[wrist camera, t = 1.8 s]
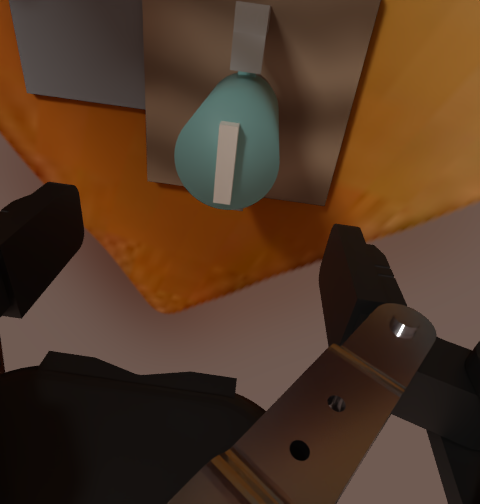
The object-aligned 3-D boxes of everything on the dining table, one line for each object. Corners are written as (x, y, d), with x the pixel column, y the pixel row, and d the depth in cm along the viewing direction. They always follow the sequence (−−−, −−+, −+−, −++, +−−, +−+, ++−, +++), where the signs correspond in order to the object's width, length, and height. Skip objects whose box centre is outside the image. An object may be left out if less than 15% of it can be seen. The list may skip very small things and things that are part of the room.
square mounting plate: (146, -46, 25) (98, -65, 18) (380, -13, 25) (418, -21, 18) (151, 175, 34) (120, 216, 27) (323, 200, 34) (334, 247, 27)
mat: (1, -66, 25) (-5, -67, 24) (146, -46, 25) (143, -47, 24) (31, 91, 30) (27, 92, 30) (149, 108, 30) (147, 109, 30)
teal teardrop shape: (212, 33, 23) (172, 49, 14) (290, 44, 22) (298, 66, 14) (204, 166, 27) (170, 241, 19) (268, 175, 27) (264, 254, 19)
